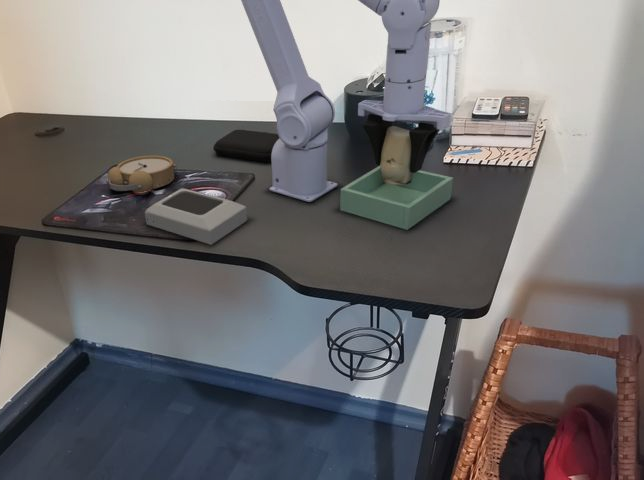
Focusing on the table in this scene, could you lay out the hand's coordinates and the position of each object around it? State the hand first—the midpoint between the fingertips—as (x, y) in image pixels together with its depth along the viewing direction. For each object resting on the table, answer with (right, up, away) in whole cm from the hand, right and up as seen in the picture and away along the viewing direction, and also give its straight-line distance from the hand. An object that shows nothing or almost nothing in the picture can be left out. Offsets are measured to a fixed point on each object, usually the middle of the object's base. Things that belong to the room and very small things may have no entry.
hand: (397, 166), depth 100 cm
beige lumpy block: (0, -2, +1) cm, 2 cm away
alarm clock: (-42, +3, +24) cm, 49 cm away
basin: (+1, -5, +4) cm, 7 cm away
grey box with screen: (-32, -7, +9) cm, 34 cm away
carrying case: (-19, +12, +31) cm, 38 cm away
